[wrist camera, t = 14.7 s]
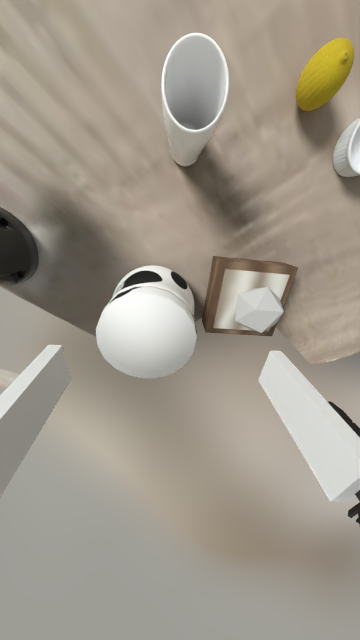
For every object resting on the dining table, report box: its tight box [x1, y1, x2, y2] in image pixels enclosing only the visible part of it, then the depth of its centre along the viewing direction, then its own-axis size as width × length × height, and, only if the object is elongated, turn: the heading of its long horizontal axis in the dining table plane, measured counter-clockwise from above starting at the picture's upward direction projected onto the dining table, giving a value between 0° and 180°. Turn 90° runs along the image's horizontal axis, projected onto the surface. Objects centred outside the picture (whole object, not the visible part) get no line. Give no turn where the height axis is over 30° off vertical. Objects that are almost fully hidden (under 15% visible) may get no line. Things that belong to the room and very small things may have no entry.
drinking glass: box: [162, 33, 229, 166], centre depth 24 cm, size 7×7×15 cm
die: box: [235, 287, 283, 333], centre depth 35 cm, size 8×9×10 cm
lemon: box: [296, 38, 354, 111], centre depth 25 cm, size 6×6×8 cm
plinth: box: [202, 256, 298, 336], centre depth 41 cm, size 16×16×6 cm
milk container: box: [96, 266, 197, 379], centre depth 35 cm, size 17×17×18 cm
